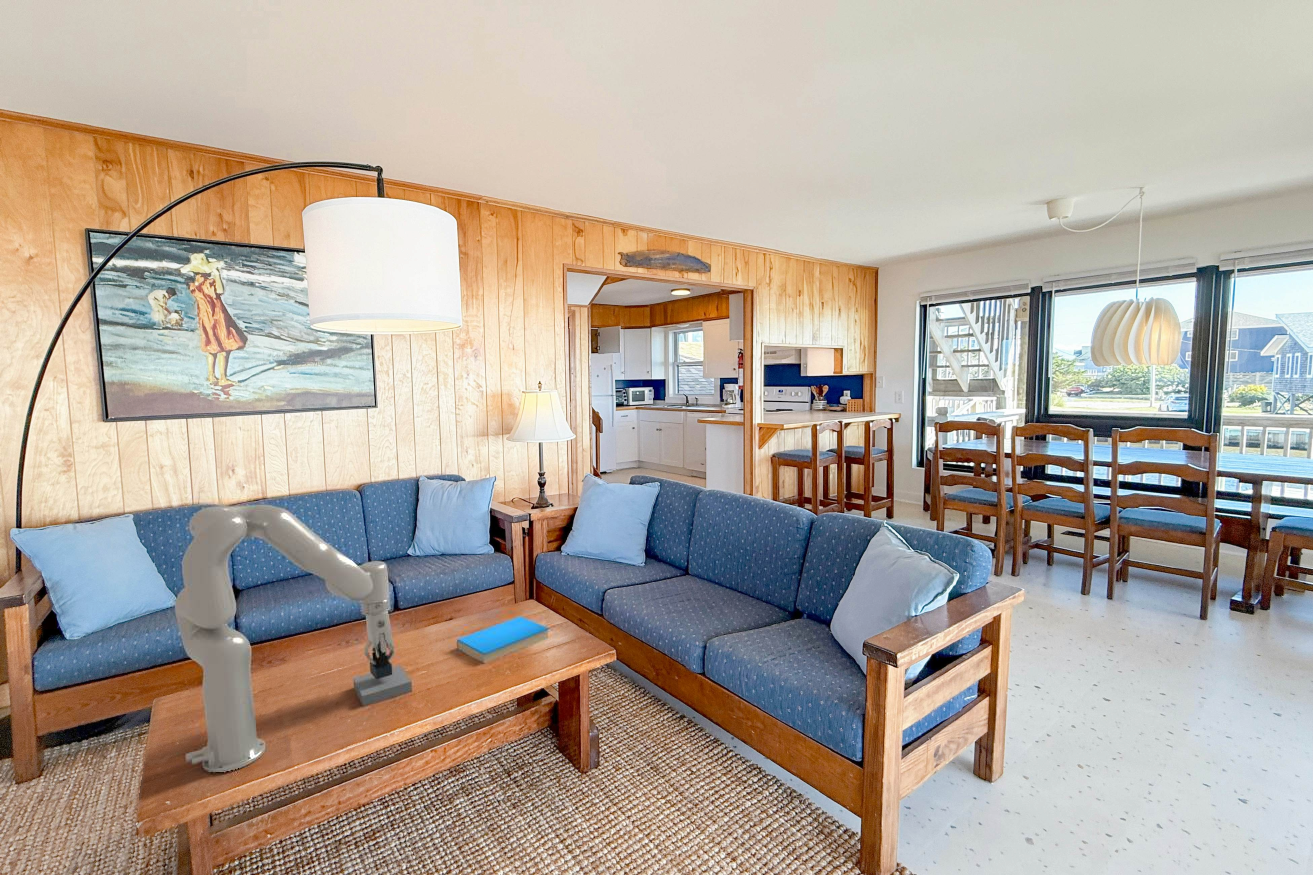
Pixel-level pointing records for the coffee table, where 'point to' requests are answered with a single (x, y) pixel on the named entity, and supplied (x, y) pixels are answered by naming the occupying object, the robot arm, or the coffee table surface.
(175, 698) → the coffee table surface
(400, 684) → the plinth
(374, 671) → the watch
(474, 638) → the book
